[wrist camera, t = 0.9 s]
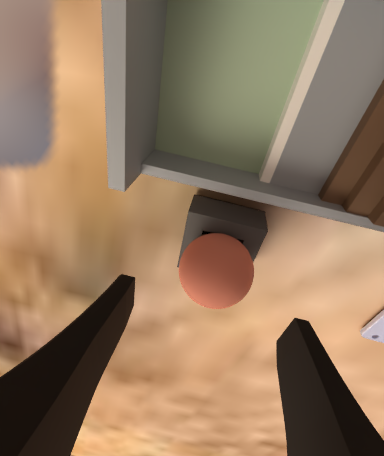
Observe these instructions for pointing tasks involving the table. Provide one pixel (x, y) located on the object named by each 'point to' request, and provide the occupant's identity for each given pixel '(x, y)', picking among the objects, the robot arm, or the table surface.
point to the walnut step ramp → (361, 167)
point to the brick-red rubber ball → (216, 270)
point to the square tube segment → (225, 223)
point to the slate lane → (240, 94)
